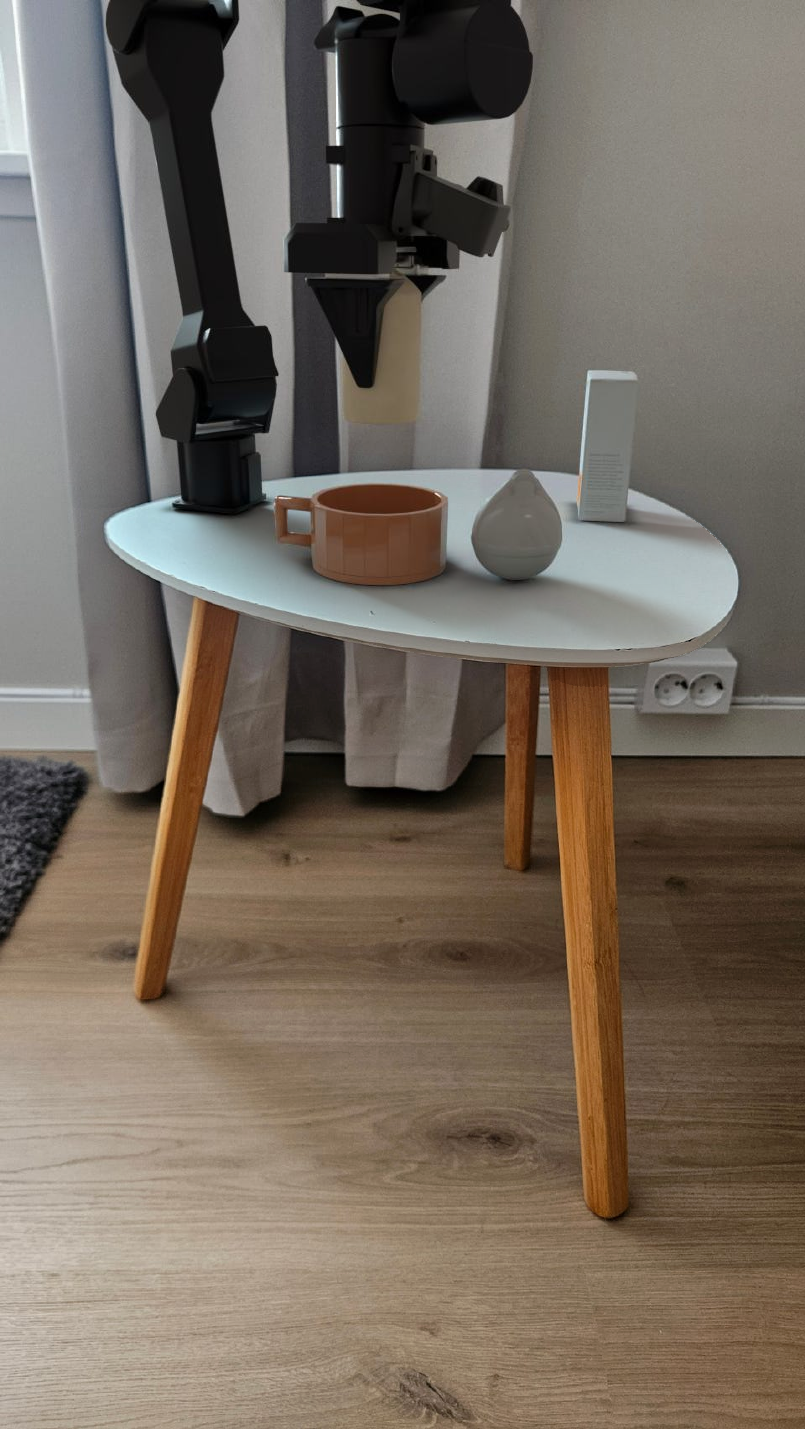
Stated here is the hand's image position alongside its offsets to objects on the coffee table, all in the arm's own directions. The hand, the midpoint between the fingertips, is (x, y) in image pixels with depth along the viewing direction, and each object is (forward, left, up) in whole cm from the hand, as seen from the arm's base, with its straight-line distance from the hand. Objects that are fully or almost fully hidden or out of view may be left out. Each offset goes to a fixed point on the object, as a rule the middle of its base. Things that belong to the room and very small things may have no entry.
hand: (379, 382), depth 71 cm
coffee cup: (-1, -2, -13) cm, 13 cm away
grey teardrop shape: (+11, -1, -13) cm, 17 cm away
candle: (0, 0, -3) cm, 3 cm away
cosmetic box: (+14, +20, -13) cm, 28 cm away
